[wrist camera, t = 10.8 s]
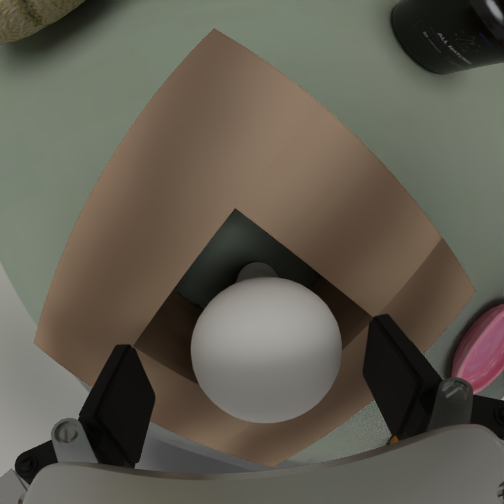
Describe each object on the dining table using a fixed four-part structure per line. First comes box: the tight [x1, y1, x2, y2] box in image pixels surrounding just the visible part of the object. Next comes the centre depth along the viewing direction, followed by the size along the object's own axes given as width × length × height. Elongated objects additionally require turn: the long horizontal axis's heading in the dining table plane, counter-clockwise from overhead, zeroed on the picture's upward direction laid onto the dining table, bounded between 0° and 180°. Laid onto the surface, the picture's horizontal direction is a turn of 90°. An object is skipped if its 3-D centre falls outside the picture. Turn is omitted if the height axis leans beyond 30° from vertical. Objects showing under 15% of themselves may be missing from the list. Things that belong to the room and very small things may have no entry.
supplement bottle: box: [393, 0, 504, 74], centre depth 8 cm, size 7×7×12 cm
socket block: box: [34, 29, 476, 467], centre depth 15 cm, size 18×18×7 cm
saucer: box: [451, 303, 504, 394], centre depth 22 cm, size 12×12×3 cm
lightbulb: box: [191, 262, 342, 423], centre depth 13 cm, size 6×6×11 cm
